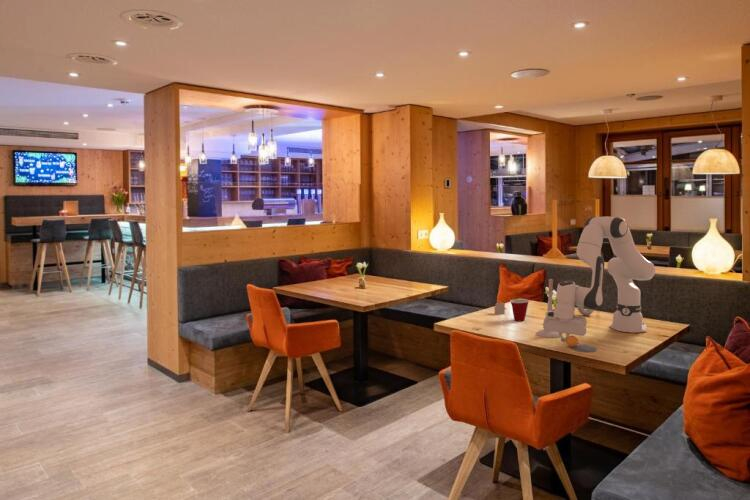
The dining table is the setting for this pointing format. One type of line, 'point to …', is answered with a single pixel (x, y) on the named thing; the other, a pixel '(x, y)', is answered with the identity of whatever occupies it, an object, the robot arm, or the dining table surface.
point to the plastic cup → (519, 309)
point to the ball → (572, 341)
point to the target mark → (584, 348)
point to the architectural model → (500, 308)
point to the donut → (585, 311)
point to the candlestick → (545, 332)
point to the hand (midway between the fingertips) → (563, 341)
